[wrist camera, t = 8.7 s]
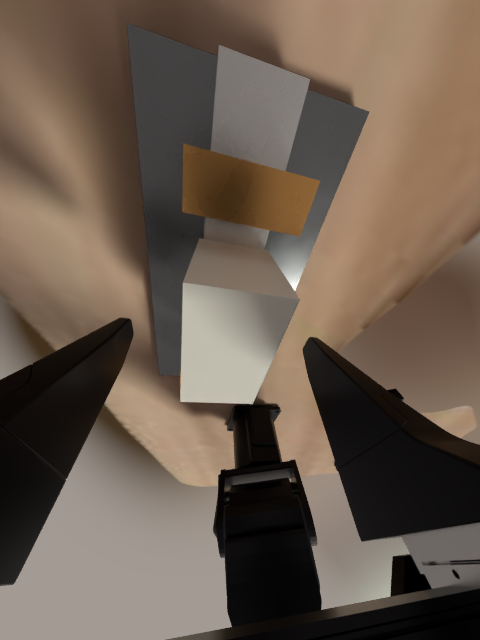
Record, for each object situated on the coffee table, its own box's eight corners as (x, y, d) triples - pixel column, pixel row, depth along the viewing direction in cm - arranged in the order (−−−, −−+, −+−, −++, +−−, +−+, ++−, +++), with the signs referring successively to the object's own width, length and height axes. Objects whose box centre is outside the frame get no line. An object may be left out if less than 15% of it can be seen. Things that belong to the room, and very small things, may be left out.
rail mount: (256, 372, 21) (262, 410, 17) (161, 366, 19) (148, 408, 16) (356, 117, 9) (437, 80, 6) (136, 39, 7) (63, -82, 4)
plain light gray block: (243, 338, 15) (252, 404, 11) (192, 333, 14) (180, 401, 10) (268, 251, 11) (299, 299, 7) (199, 238, 10) (182, 282, 6)
